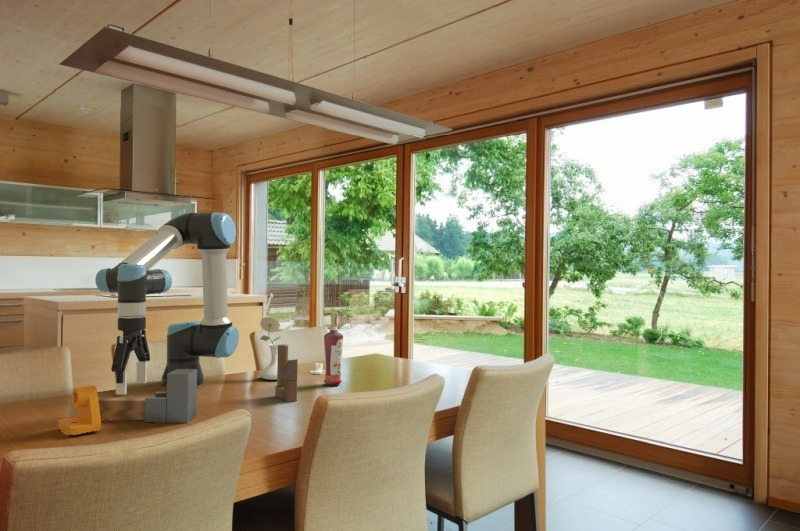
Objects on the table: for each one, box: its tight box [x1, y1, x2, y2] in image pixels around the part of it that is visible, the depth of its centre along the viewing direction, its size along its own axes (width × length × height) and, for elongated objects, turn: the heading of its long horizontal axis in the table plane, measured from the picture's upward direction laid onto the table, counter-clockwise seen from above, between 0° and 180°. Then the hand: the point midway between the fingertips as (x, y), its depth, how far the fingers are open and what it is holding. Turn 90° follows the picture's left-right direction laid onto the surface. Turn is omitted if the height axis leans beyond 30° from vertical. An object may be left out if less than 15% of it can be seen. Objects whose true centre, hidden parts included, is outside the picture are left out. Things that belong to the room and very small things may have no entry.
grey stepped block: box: [144, 369, 198, 424], centre depth 168 cm, size 9×12×14 cm
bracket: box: [57, 384, 102, 436], centre depth 155 cm, size 11×7×12 cm, turn 49°
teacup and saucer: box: [309, 362, 325, 375], centre depth 244 cm, size 9×8×4 cm
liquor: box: [323, 311, 344, 387], centre depth 219 cm, size 7×7×28 cm
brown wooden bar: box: [98, 396, 146, 421], centre depth 168 cm, size 20×4×6 cm, turn 91°
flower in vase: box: [259, 315, 282, 381], centre depth 229 cm, size 13×11×25 cm
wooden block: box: [274, 343, 299, 403], centre depth 196 cm, size 4×11×18 cm, turn 34°
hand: (131, 388), depth 168 cm, fingers open, 13 cm apart
